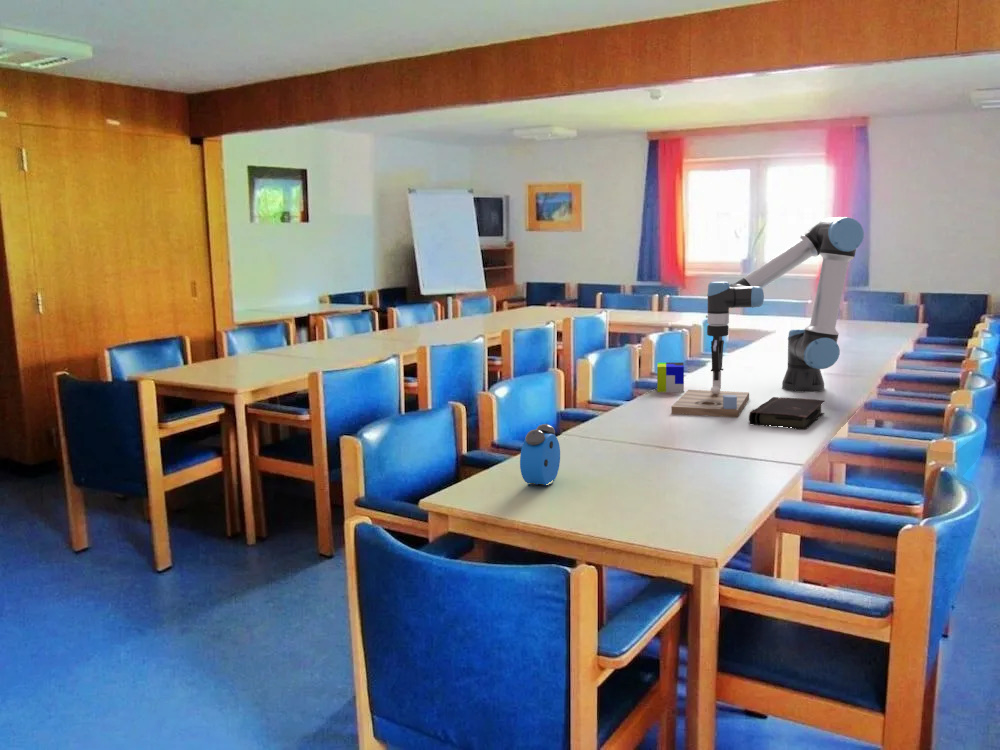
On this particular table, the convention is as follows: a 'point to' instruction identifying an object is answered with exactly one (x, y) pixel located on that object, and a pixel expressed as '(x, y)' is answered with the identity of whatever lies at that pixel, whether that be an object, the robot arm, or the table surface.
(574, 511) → the table surface
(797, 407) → the diary
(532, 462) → the alarm clock
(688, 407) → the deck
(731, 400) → the blue block
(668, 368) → the puzzle toy
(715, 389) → the ball
